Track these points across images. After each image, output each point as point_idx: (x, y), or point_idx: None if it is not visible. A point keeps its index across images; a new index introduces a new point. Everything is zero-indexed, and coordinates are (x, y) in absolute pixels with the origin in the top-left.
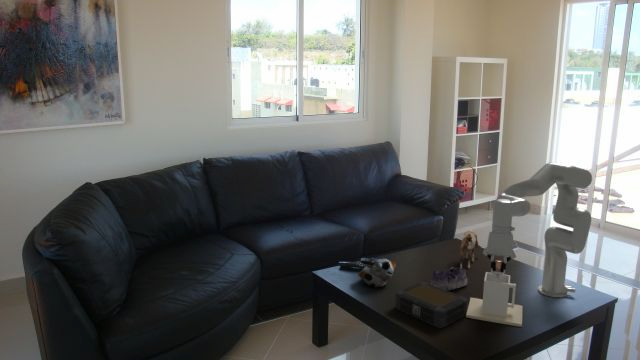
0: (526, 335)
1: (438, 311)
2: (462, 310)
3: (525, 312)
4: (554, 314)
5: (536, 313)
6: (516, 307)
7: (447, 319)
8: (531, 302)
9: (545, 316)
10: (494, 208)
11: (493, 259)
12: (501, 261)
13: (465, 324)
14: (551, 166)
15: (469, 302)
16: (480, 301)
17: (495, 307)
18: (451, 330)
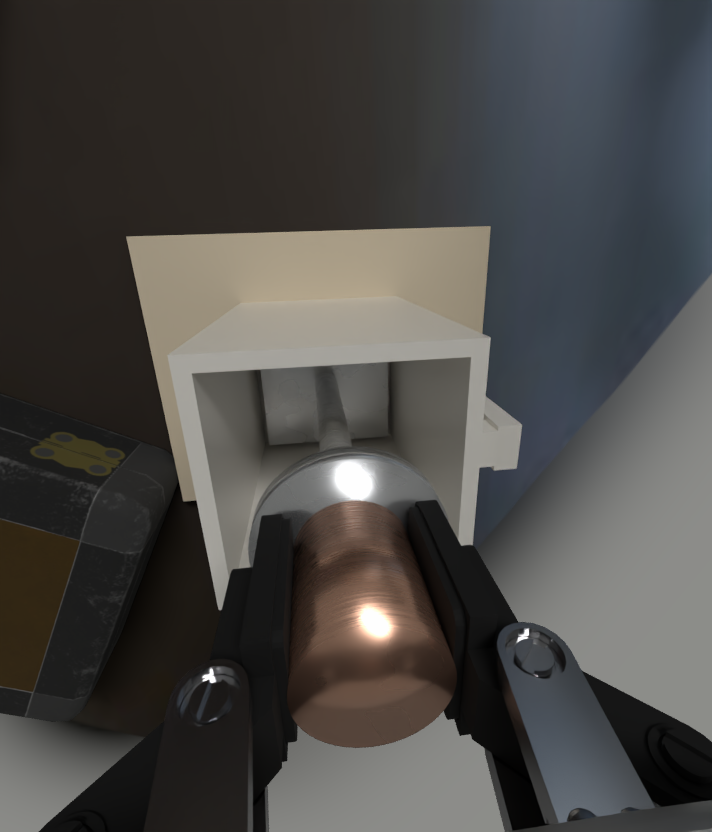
0: (480, 533)
1: (52, 720)
2: (154, 534)
3: (496, 286)
4: (659, 239)
5: (558, 271)
6: (450, 275)
7: (118, 634)
8: (554, 85)
9: (601, 292)
10: None
11: (262, 826)
12: (431, 668)
13: (207, 558)
14: None
15: (147, 330)
16: (212, 281)
17: None
18: (166, 629)
